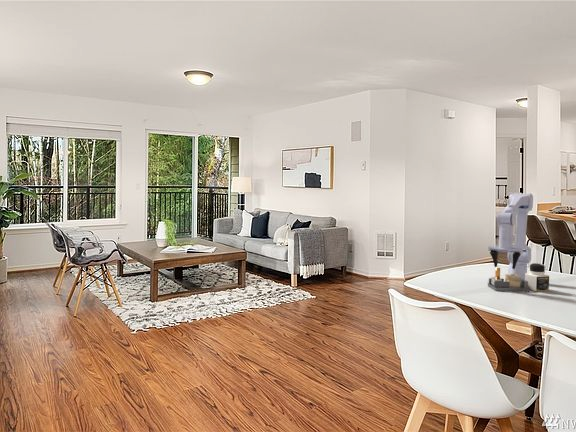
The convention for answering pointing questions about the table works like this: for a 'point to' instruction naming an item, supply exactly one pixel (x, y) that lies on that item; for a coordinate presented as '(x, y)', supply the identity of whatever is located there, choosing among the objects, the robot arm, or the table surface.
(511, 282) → the light wooden block
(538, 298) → the table surface
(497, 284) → the press frame
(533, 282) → the medicine bottle
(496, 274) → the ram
